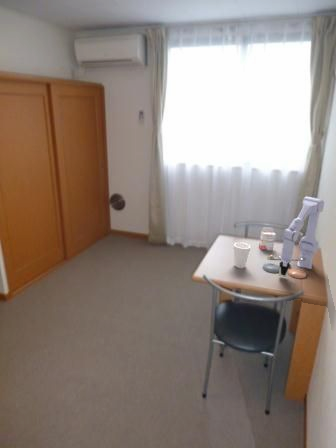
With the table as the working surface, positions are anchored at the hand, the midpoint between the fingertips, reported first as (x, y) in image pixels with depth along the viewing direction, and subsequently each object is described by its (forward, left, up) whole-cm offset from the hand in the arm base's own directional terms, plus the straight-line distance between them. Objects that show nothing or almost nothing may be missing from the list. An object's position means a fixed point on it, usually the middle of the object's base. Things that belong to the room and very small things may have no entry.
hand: (283, 272), depth 181 cm
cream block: (0, 0, -2) cm, 2 cm away
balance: (-16, 0, -3) cm, 17 cm away
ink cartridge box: (-39, -14, -4) cm, 42 cm away
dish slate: (-9, -7, -3) cm, 12 cm away
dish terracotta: (-9, +7, -3) cm, 12 cm away
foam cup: (-4, -25, -4) cm, 26 cm away
